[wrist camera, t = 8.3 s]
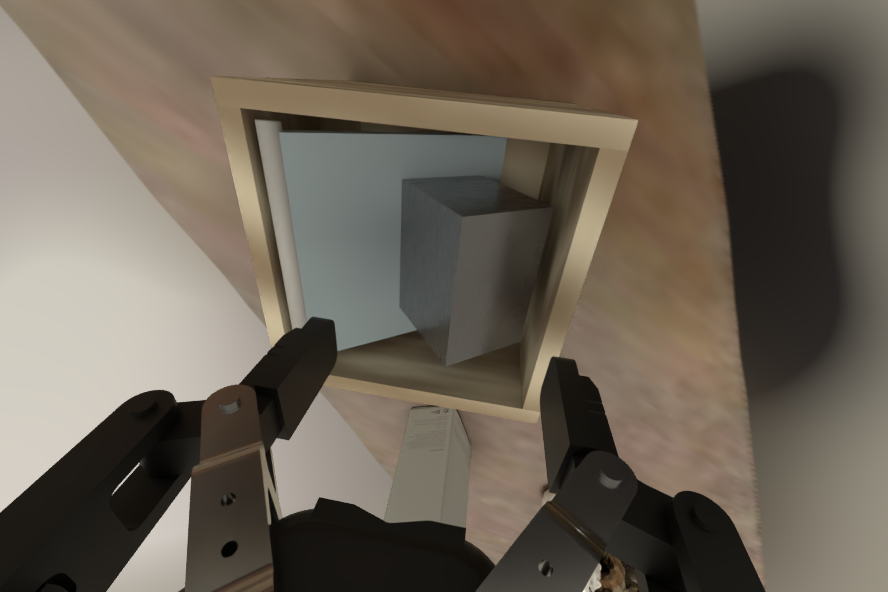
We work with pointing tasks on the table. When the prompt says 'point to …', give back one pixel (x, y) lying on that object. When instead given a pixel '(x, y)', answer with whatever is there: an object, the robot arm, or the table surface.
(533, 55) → the table surface
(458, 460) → the skincare box
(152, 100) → the table surface
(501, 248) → the metal brick
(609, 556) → the rock
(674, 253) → the table surface
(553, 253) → the hatch box
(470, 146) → the hatch door
